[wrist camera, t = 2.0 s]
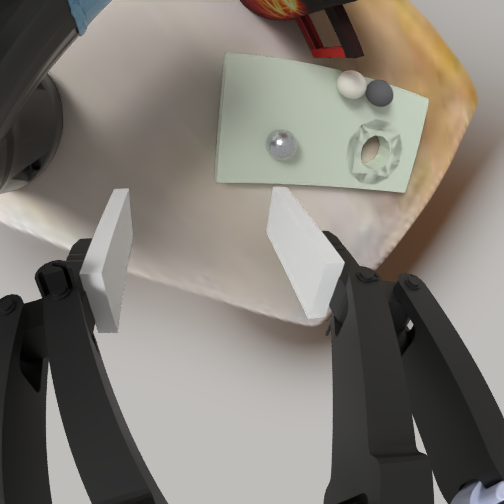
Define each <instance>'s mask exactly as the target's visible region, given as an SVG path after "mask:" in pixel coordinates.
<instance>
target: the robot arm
mask: <svg viewBox="0 0 504 504" xmlns="http://www.w3.org/2000/svg"><path fill="white" fill-rule="evenodd" d="M111 1H112V0H0V194H2V193H6V192H10V191H14V190H17V189H20V188H22V187H24V186H26V185H27V184H29V183H30V182H32V181H33V180H34V179H35V178H36V177H37V176H38V175H39V174H40V173H41V172H42V171H43V170H44V169H45V168H46V167H47V166H48V164H49V163H50V161H51V160H52V158H53V156H54V154H55V152H56V150H57V148H58V145H59V141H60V138H61V133H62V125H63V113H62V105H61V100H60V96H59V93H58V91H57V88H56V86H55V85H54V83H53V81H52V80H51V78H50V77H49V76H48V75H47V73H48V72H49V70H50V69H51V68H52V66H53V65H54V64H55V63H56V62H57V60H58V59H59V58H60V57H61V56H62V54H63V53H64V52H65V51H66V50H67V49H68V47H69V46H70V45H71V44H72V43H73V42H74V41H75V40H76V39H77V37H78V36H82V35H83V34H84V33H85V32H86V29H87V26H88V25H89V24H90V22H91V21H92V20H93V19H94V18H95V17H96V16H97V15H98V14H99V13H100V12H101V11H102V10H103V9H104V8H105V7H106V6H107V5H108V4H109V3H110V2H111ZM266 233H267V235H268V237H269V239H270V241H271V243H272V245H273V247H274V249H275V251H276V253H277V256H278V258H279V260H280V262H281V264H282V266H283V268H284V270H285V272H286V274H287V276H288V278H289V280H290V282H291V284H292V287H293V289H294V291H295V293H296V295H297V297H298V299H299V301H300V303H301V305H302V307H303V310H304V312H305V314H306V316H307V318H308V319H315V318H322V317H325V316H326V314H327V311H328V308H329V306H330V308H331V310H332V312H333V316H332V319H331V321H330V324H329V326H328V328H327V331H326V335H327V336H328V334H329V332H330V331H331V342H332V369H333V370H332V371H333V440H332V441H333V442H332V469H331V479H330V483H329V485H328V487H327V489H326V492H325V496H324V504H434V491H433V477H432V470H433V474H434V476H435V479H436V482H437V484H438V487H439V489H440V491H441V493H442V495H443V497H444V498H445V500H446V501H447V503H448V504H504V418H503V415H502V413H501V411H500V409H499V407H498V405H497V403H496V401H495V399H494V397H493V395H492V393H491V391H490V389H489V387H488V385H487V383H486V381H485V379H484V377H483V376H482V374H481V372H480V370H479V368H478V367H477V365H476V363H475V361H474V359H473V358H472V356H471V354H470V353H469V351H468V349H467V348H466V346H465V345H464V343H463V341H462V339H461V338H460V336H459V334H458V333H457V331H456V330H455V328H454V327H453V325H452V323H451V322H450V320H449V319H448V317H447V316H446V314H445V313H444V311H443V310H442V308H441V307H440V305H439V304H438V302H437V301H436V299H435V298H434V296H433V295H432V294H431V292H430V291H429V289H428V288H427V286H426V285H425V284H424V282H423V281H422V280H421V279H419V278H418V277H417V276H415V275H412V274H406V273H405V274H401V275H400V276H399V277H398V279H397V281H396V283H394V282H388V281H382V280H381V278H380V276H379V275H378V274H377V273H376V272H375V271H373V270H372V269H370V268H367V267H363V266H359V265H358V263H357V262H356V261H355V259H354V258H353V257H352V256H351V254H350V253H349V252H348V250H346V248H345V247H344V245H342V243H341V242H340V240H339V239H338V238H337V237H336V236H335V235H333V234H332V233H330V232H329V231H321V230H320V228H319V227H318V226H317V225H316V223H315V222H314V221H313V219H312V218H311V217H310V216H309V214H308V213H307V212H306V210H305V209H304V208H303V207H302V205H301V204H300V203H299V202H298V200H297V199H296V198H295V197H294V195H293V194H292V193H291V192H290V190H289V189H288V188H287V187H273V189H272V196H271V203H270V210H269V216H268V223H267V230H266ZM132 240H133V229H132V219H131V209H130V197H129V188H124V189H114V191H113V193H112V195H111V197H110V199H109V201H108V203H107V206H106V208H105V210H104V212H103V215H102V217H101V219H100V222H99V224H98V226H97V229H96V231H95V234H94V236H93V238H90V239H79V240H78V241H77V242H76V243H75V244H74V245H73V246H72V248H71V250H70V253H69V256H68V257H67V260H66V261H62V260H56V261H51V262H49V263H46V264H44V265H43V266H42V267H40V268H39V269H38V271H37V272H36V274H35V280H36V283H37V286H38V288H39V291H40V293H41V296H42V299H39V300H36V301H32V302H29V303H25V304H24V303H23V300H22V299H21V297H20V296H18V295H14V294H11V295H7V296H5V297H3V298H1V299H0V504H52V499H51V492H50V485H49V475H48V464H47V449H46V391H47V375H48V363H50V369H51V374H52V379H53V384H54V389H55V394H56V398H57V402H58V407H59V411H60V415H61V418H62V422H63V426H64V429H65V433H66V436H67V439H68V443H69V446H70V449H71V452H72V455H73V458H74V460H75V463H76V466H77V469H78V471H79V474H80V477H81V479H82V482H83V484H84V486H85V489H86V491H87V493H88V496H89V498H90V500H91V502H92V504H168V503H167V501H166V500H165V498H164V496H163V495H162V493H161V491H160V489H159V488H158V486H157V484H156V482H155V481H154V479H153V477H152V475H151V473H150V471H149V470H148V468H147V466H146V464H145V462H144V460H143V458H142V456H141V454H140V452H139V450H138V448H137V446H136V444H135V442H134V439H133V437H132V436H131V433H130V431H129V428H128V426H127V424H126V422H125V419H124V417H123V415H122V412H121V410H120V407H119V405H118V402H117V400H116V397H115V395H114V392H113V389H112V387H111V384H110V381H109V378H108V376H107V373H106V370H105V367H104V364H103V361H102V358H101V354H100V351H99V349H98V345H97V341H96V339H95V336H94V333H93V330H94V325H95V324H96V327H97V330H98V332H99V333H111V332H112V333H117V332H118V326H119V318H120V310H121V303H122V296H123V290H124V284H125V278H126V272H127V266H128V261H129V255H130V250H131V245H132ZM410 319H411V321H412V323H413V324H414V325H413V327H412V329H411V330H409V328H408V327H407V324H408V323H409V321H410ZM412 415H413V417H414V420H415V423H416V425H417V428H418V431H419V433H420V436H421V439H422V441H423V444H424V447H425V450H426V453H427V455H426V454H424V453H421V452H419V451H418V450H417V448H416V442H415V434H414V426H413V420H412Z"/></svg>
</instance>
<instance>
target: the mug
mask: <svg viewBox="0 0 504 504" xmlns="http://www.w3.org/2000/svg"><path fill="white" fill-rule="evenodd" d="M240 1H241V3H242V4H243V5H244V6H245V7H246V8H248V9H249V10H250V11H252V12H253V13H255V14H257V15H259V16H261V17H264V18H267V19H272V20H282V21H284V20H292V19H295V20H296V22H297V23H298V25H299V27H300V29H301V31H302V33H303V35H304V37H305V39H306V41H307V43H308V45H309V47H310V50H311V52H312V55H313V57H314V58H331V57H339V58H358V57H361V56H364V54H363V51H362V48H361V45H360V43H359V40H358V38H357V36H356V33H355V31H354V29H353V27H352V24H351V22H350V20H349V18H348V16H347V13H346V11H345V9H344V7H343V5H342V4H346V3H350V2H354V1H357V0H240ZM324 9H325V11H326V13H327V15H328V17H329V19H330V22H331V24H332V26H333V28H334V30H335V32H336V34H337V37H338V39H339V41H340V43H341V46H334V47H324V46H323V44H322V42H321V40H320V38H319V36H318V34H317V31H316V29H315V27H314V25H313V23H312V21H311V19H310V18H309V16H308V14H311V13H314V12H317V11H321V10H324Z"/></svg>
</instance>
